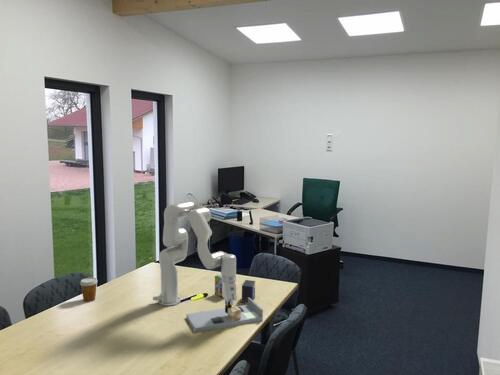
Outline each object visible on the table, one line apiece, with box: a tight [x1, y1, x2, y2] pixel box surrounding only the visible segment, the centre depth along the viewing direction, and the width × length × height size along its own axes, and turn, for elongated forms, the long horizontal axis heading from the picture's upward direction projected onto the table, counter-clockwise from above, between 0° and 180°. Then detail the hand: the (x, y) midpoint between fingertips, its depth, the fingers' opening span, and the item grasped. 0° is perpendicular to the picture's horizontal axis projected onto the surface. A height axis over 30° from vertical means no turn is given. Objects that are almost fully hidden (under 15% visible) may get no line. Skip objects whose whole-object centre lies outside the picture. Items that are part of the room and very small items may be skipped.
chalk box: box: [214, 270, 223, 298], centre depth 244 cm, size 9×9×15 cm
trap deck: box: [185, 298, 264, 333], centre depth 208 cm, size 36×18×6 cm, turn 113°
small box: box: [241, 279, 256, 304], centre depth 235 cm, size 11×6×10 cm, turn 168°
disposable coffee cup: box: [79, 277, 99, 303], centre depth 233 cm, size 10×10×12 cm
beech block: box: [228, 305, 241, 321], centre depth 205 cm, size 5×5×5 cm
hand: (228, 312), depth 208 cm, fingers closed
